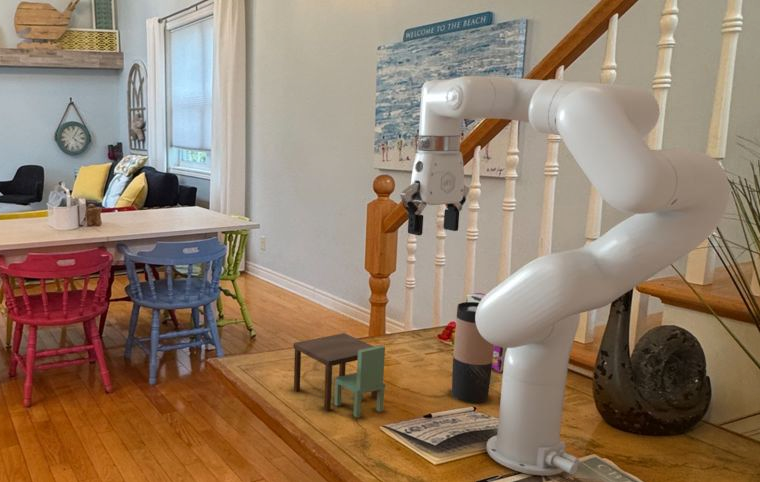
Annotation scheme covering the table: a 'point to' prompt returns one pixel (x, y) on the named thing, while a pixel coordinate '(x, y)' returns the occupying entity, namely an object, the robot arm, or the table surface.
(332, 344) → the side table
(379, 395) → the chair
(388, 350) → the table surface
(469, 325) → the travel mug
